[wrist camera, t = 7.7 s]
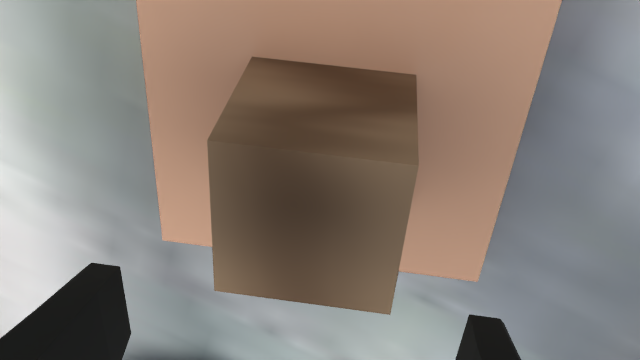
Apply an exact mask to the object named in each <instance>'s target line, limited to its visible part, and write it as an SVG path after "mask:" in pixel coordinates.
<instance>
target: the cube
mask: <svg viewBox="0 0 640 360" xmlns="http://www.w3.org/2000/svg"><path fill="white" fill-rule="evenodd" d="M207 147H208V168H209V188H210V209H211V229H212V250H213V270H214V291H220V292H228V293H235V294H242V295H250V296H257V297H264V298H272V299H279V300H286V301H294V302H301V303H308V304H316V305H323V306H330V307H338V308H345V309H353V310H360V311H367V312H375V313H382V314H389V315H390V313H391V308H392V302H393V297H394V292H395V287H396V282H397V276H398V271H399V266H400V261H401V256H402V250H403V245H404V240H405V235H406V230H407V224H408V219H409V214H410V209H411V203H412V198H413V193H414V188H415V183H416V177H417V172H418V167H419V157H418V118H417V80H416V75H413V74H404V73H396V72H387V71H378V70H369V69H360V68H351V67H342V66H333V65H324V64H315V63H306V62H297V61H288V60H279V59H270V58H261V57H251V59H250V61H249V63H248V65H247V67H246V69H245V70H244V72H243V74H242V76H241V78H240V80H239V82H238V84H237V85H236V87H235V89H234V91H233V93H232V95H231V97H230V98H229V100H228V102H227V104H226V106H225V108H224V110H223V112H222V113H221V115H220V117H219V119H218V121H217V123H216V125H215V126H214V128H213V130H212V132H211V134H210V136H209V138H208V140H207Z"/></svg>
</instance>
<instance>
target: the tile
mask: <svg viewBox="0 0 640 360" xmlns="http://www.w3.org/2000/svg"><path fill="white" fill-rule="evenodd" d="M561 2H562V0H136V4H137V13H138V22H139V31H140V40H141V49H142V58H143V67H144V76H145V85H146V94H147V103H148V112H149V121H150V130H151V139H152V148H153V157H154V167H155V176H156V185H157V194H158V203H159V212H160V221H161V230H162V239H163V240H164V241H172V242H179V243H187V244H195V245H202V246H210V247H212V229H211V209H210V188H209V168H208V147H207V140H208V138H209V136H210V134H211V132H212V130H213V128H214V126H215V125H216V123H217V121H218V119H219V117H220V115H221V113H222V112H223V110H224V108H225V106H226V104H227V102H228V100H229V98H230V97H231V95H232V93H233V91H234V89H235V87H236V85H237V84H238V82H239V80H240V78H241V76H242V74H243V72H244V70H245V69H246V67H247V65H248V63H249V61H250V59H251V57H261V58H270V59H279V60H288V61H297V62H306V63H315V64H324V65H333V66H342V67H351V68H360V69H369V70H378V71H387V72H396V73H404V74H413V75H416V80H417V118H418V157H419V167H418V172H417V177H416V183H415V188H414V193H413V198H412V203H411V209H410V214H409V219H408V224H407V230H406V235H405V240H404V245H403V250H402V256H401V261H400V266H399V271H400V272H407V273H415V274H423V275H430V276H438V277H445V278H453V279H461V280H468V281H476V282H478V279H479V276H480V272H481V269H482V266H483V262H484V259H485V256H486V252H487V249H488V246H489V242H490V239H491V236H492V232H493V229H494V226H495V222H496V219H497V216H498V212H499V209H500V206H501V202H502V199H503V196H504V192H505V189H506V186H507V182H508V179H509V176H510V172H511V169H512V165H513V162H514V159H515V155H516V152H517V149H518V145H519V142H520V139H521V135H522V132H523V129H524V125H525V122H526V119H527V115H528V112H529V109H530V105H531V102H532V99H533V95H534V92H535V89H536V85H537V82H538V79H539V75H540V72H541V69H542V65H543V62H544V59H545V55H546V52H547V49H548V45H549V42H550V39H551V35H552V32H553V29H554V25H555V22H556V18H557V15H558V12H559V8H560V5H561Z"/></svg>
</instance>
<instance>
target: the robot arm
mask: <svg viewBox="0 0 640 360" xmlns="http://www.w3.org/2000/svg"><path fill="white" fill-rule="evenodd" d="M130 335H131V330H130V324H129V318H128V312H127V306H126V300H125V294H124V288H123V282H122V276H121V270H120V267H119V266H111V265H104V264H97V263H91V264H89V265H88V266H87V267H86V268H84V269H83V270H82V271H81V272H80V273H78V274H77V275H76V276H75V277H74V278H72V279H71V280H70V281H69V282H68V283H67V284H65V285H64V286H63V287H62V288H61V289H60V290H58V291H57V292H56V293H55V294H54V295H53V296H51V297H50V298H49V299H48V300H47V301H45V302H44V303H43V304H42V305H41V306H40V307H38V308H37V309H36V310H35V311H34V312H32V313H31V314H30V315H29V316H27V317H26V318H25V319H24V320H22V321H21V322H20V323H19V324H18V325H16V326H15V327H14V328H13V329H11V330H10V331H9V332H8V333H6V334H5V335H4V336H3V337H1V338H0V360H122V358H123V355H124V352H125V349H126V346H127V343H128V341H129V338H130ZM456 360H521V359H520V357H519V355H518V352H517V350H516V348H515V346H514V344H513V342H512V340H511V338H510V336H509V333H508V331H507V329H506V327H505V325H504V323H503V322H502V321H501V319H498V318H491V317H484V316H476V315H469V317H468V320H467V324H466V327H465V330H464V333H463V337H462V340H461V343H460V347H459V350H458V353H457V356H456Z"/></svg>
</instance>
